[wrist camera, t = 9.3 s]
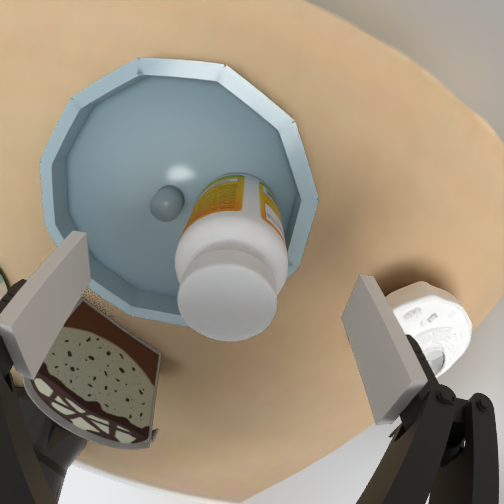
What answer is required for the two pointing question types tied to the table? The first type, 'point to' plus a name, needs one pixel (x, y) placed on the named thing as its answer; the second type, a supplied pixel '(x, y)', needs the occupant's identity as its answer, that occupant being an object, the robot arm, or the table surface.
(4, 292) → the can
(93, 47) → the table surface
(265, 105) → the ring tray
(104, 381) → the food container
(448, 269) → the table surface
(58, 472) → the robot arm
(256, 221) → the supplement bottle
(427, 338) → the cell model
